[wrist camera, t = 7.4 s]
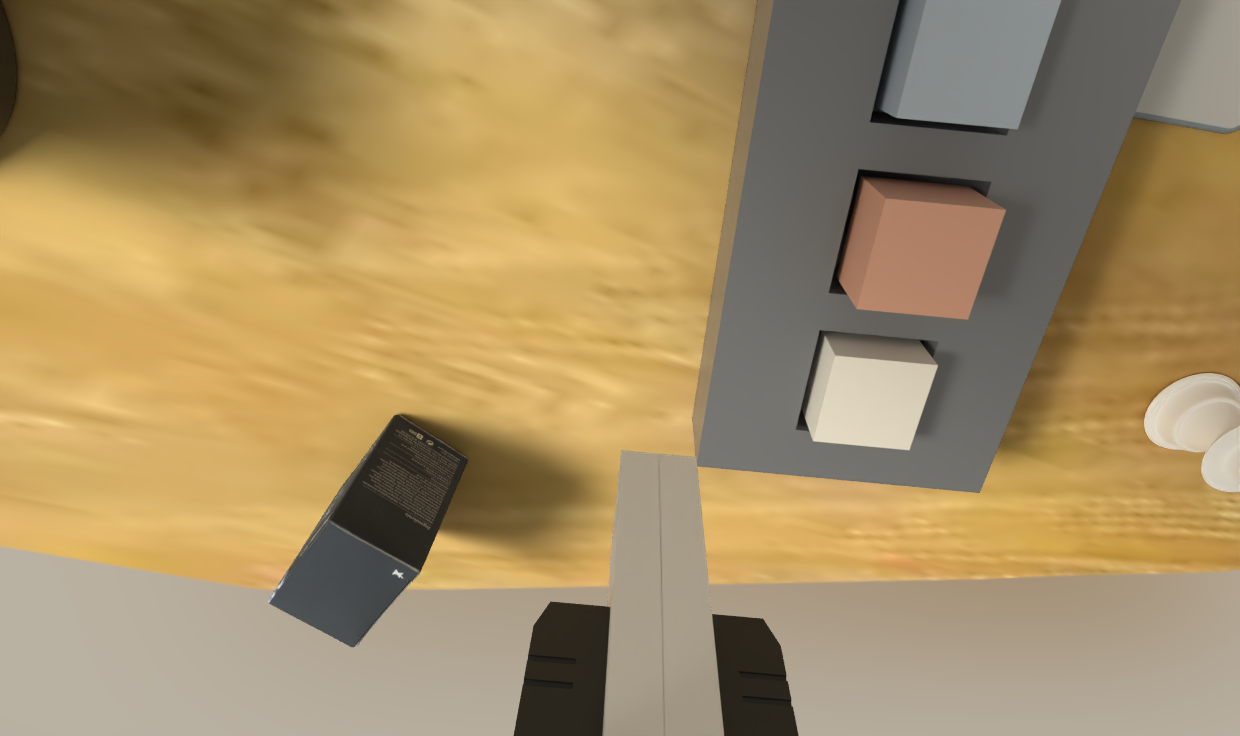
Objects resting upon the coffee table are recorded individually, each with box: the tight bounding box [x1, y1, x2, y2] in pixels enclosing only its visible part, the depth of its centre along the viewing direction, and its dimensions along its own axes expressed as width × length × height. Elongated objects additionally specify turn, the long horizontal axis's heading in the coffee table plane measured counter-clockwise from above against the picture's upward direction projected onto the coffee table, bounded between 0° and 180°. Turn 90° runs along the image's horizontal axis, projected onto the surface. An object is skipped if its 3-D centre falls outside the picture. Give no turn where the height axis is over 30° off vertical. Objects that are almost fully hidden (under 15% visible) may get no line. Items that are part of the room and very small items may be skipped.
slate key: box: [874, 0, 1061, 129], centre depth 29 cm, size 5×5×4 cm
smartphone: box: [1134, 0, 1240, 133], centre depth 33 cm, size 8×1×15 cm
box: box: [268, 415, 468, 647], centre depth 42 cm, size 8×6×11 cm
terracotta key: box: [837, 176, 1006, 320], centre depth 32 cm, size 5×5×4 cm
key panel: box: [692, 0, 1181, 493], centre depth 35 cm, size 16×28×5 cm, turn 175°
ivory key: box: [801, 330, 938, 450], centre depth 37 cm, size 5×5×4 cm
